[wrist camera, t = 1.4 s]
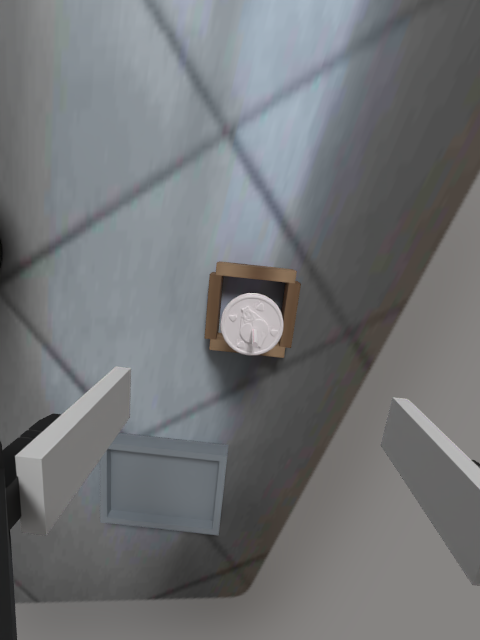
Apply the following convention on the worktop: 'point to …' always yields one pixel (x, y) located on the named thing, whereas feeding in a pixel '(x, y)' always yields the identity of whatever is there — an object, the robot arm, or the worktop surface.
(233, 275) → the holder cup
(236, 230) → the worktop surface
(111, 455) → the tray
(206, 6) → the worktop surface
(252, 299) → the smoothie
